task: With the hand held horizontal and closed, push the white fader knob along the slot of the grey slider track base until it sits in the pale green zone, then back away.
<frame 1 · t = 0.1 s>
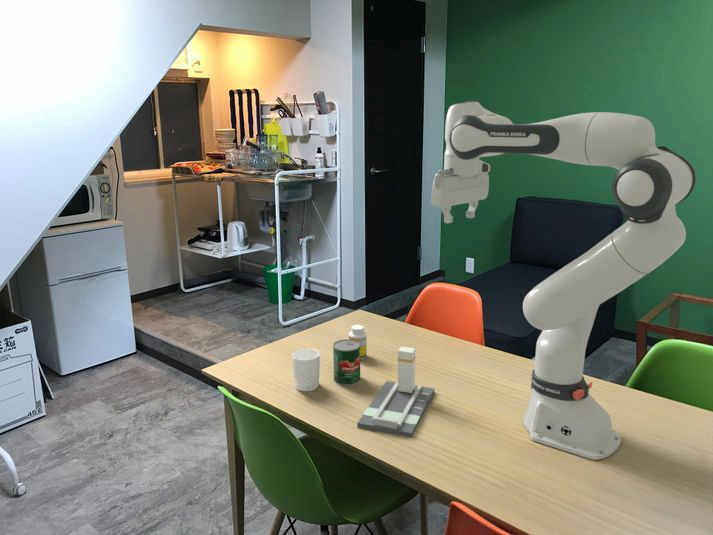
hand: (459, 220, 152), 48 cm above the table, tool pointing down, fingers open, 8 cm apart
fader: (406, 369, 158), point 8 cm above the table, slide at 0.0 cm
canned tomato: (347, 380, 169), on the table
grey slider track base: (397, 408, 152), on the table
supplement bottle: (357, 357, 184), on the table
white cup: (307, 386, 165), on the table
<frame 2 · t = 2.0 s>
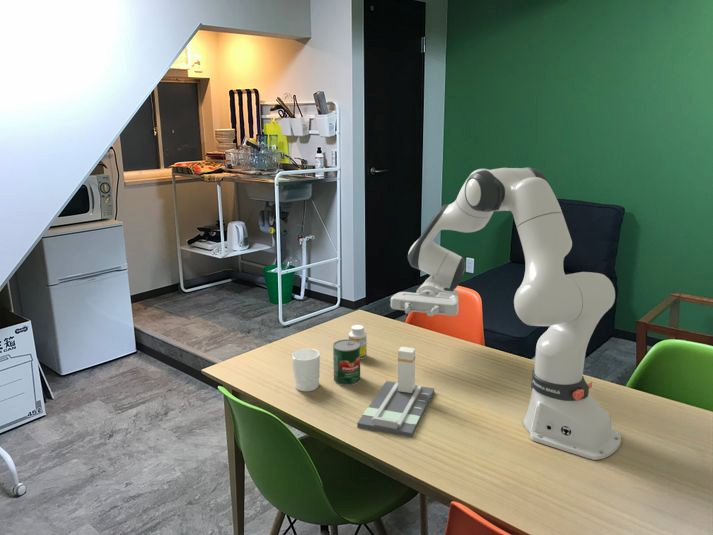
hand: (418, 312, 165), 20 cm above the table, tool horizontal, fingers open, 5 cm apart
nothing on the table moved.
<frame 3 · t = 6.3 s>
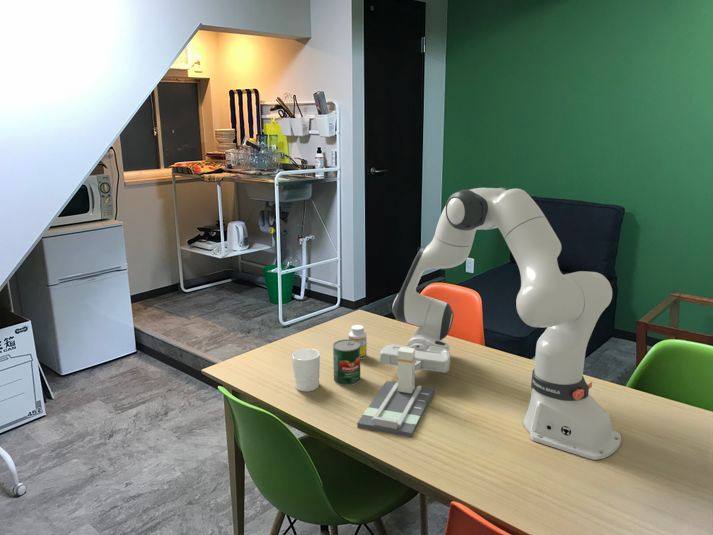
hand: (408, 369, 159), 7 cm above the table, tool horizontal, fingers closed, pressing on fader
fader: (406, 370, 157), point 8 cm above the table, slide at 0.1 cm, touching gripper
everything else where it was.
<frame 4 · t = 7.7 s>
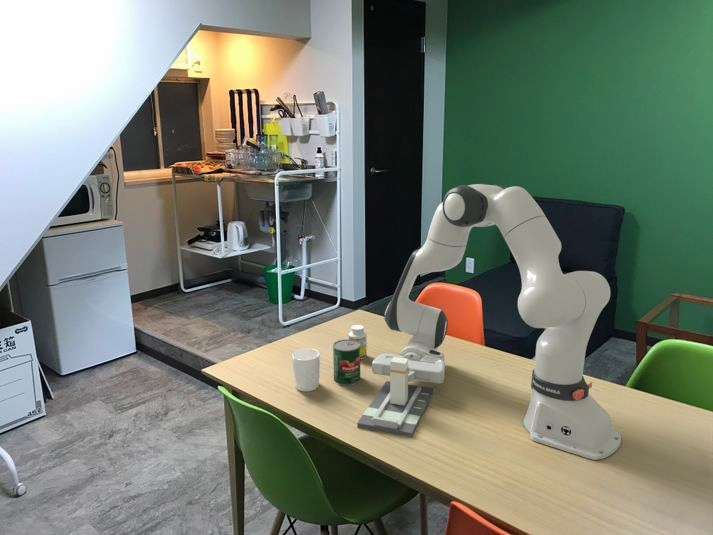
hand: (401, 380, 153), 7 cm above the table, tool horizontal, fingers closed, pressing on fader
fader: (399, 381, 151), point 8 cm above the table, slide at 7.1 cm, touching gripper
everything else where it was.
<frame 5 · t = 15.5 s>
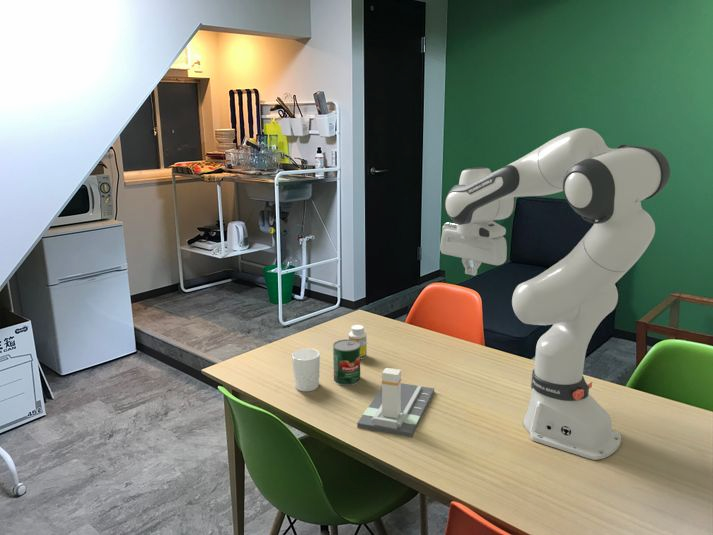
hand: (470, 274, 162), 31 cm above the table, tool pointing down, fingers closed
fader: (391, 393, 145), point 8 cm above the table, slide at 13.9 cm
everything else where it was.
at the end: fader slide at 13.9 cm; fader touching nothing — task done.
